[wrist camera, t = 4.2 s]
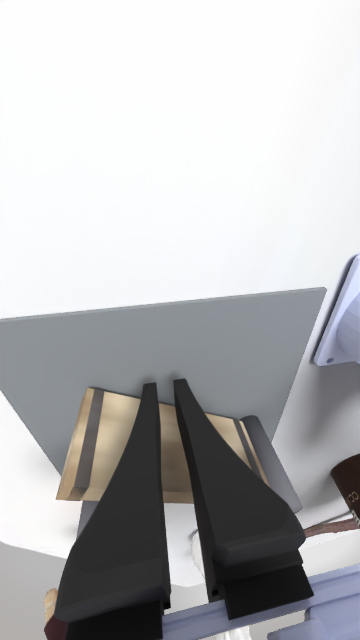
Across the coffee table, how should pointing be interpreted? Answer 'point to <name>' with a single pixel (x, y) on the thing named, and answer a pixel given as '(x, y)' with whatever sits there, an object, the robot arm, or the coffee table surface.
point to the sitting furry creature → (239, 636)
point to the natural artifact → (332, 527)
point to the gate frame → (162, 365)
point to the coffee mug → (349, 483)
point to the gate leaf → (112, 436)
